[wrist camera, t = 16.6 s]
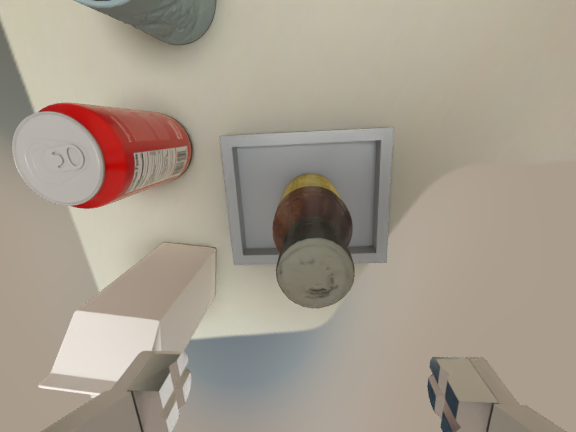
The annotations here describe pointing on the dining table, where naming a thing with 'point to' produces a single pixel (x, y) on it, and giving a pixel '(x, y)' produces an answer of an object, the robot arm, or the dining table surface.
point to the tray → (302, 160)
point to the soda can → (98, 153)
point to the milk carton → (135, 318)
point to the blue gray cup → (161, 16)
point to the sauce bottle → (313, 242)
